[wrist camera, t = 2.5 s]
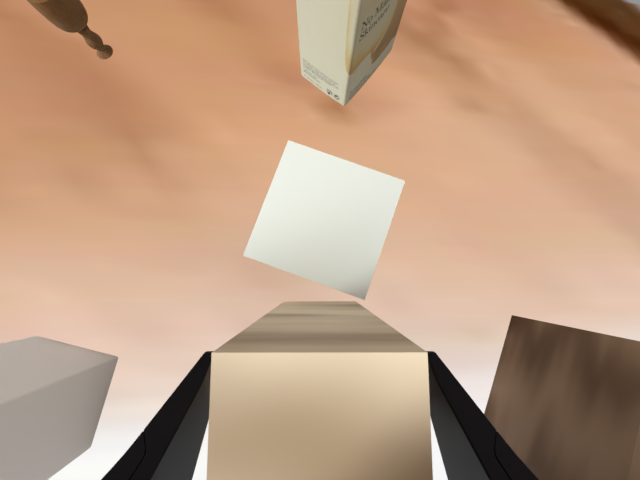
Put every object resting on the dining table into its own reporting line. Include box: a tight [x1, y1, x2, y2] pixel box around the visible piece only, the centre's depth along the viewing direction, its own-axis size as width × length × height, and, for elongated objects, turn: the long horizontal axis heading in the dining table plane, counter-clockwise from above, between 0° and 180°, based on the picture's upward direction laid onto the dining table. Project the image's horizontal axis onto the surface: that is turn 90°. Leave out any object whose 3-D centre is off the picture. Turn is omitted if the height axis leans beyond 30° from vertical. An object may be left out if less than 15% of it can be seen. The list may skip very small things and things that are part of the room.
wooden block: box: [207, 301, 433, 480], centre depth 14 cm, size 5×5×14 cm
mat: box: [243, 140, 405, 300], centre depth 21 cm, size 9×9×1 cm
